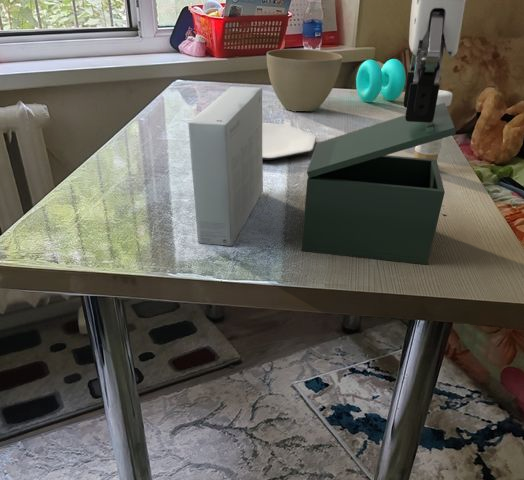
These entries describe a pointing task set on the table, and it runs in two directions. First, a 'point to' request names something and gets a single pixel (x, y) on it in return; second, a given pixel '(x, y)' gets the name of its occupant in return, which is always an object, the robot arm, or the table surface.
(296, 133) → the plate
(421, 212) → the trash bin
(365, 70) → the turquoise yoyo
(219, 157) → the skincare box
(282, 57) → the flower pot
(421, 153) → the sprinkles bottle
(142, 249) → the table surface
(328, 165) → the bin lid
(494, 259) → the table surface
